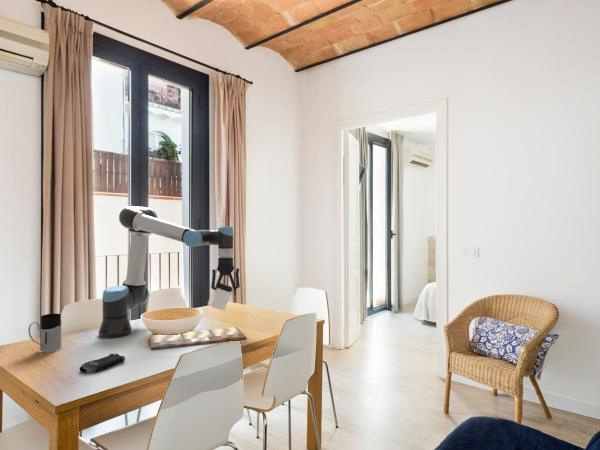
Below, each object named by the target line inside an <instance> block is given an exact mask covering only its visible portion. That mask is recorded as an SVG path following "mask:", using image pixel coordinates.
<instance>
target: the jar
mask: <svg viewBox="0 0 600 450" xmlns="http://www.w3.org/2000/svg"><path fill="white" fill-rule="evenodd" d="M232 289H233V287H232V285H227V284H225V283H223V282H220V283H218V285H217V288H216V290H214V289H212V290H213V291H212V293H211V295H210V297H209V299H208V302H207V305H208V306H210V307H212V308H213V309H217V310H220V311H225V310H226V308H227V305H228V303H229V300H230V298H231V291H232Z"/></svg>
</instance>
